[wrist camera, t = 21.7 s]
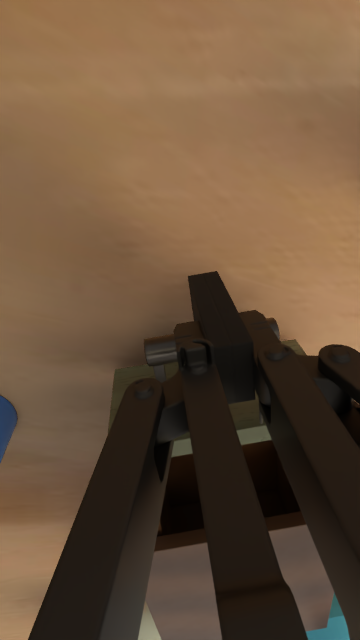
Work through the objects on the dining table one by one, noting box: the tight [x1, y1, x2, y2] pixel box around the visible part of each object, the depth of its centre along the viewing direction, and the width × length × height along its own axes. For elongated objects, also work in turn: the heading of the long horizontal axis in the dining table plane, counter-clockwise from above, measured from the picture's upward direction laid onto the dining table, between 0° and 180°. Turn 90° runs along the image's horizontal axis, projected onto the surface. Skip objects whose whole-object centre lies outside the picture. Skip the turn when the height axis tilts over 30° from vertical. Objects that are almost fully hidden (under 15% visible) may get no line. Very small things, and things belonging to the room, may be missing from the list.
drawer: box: [108, 318, 307, 537], centre depth 23 cm, size 20×13×7 cm, turn 8°
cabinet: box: [145, 511, 334, 640], centre depth 29 cm, size 17×14×9 cm
